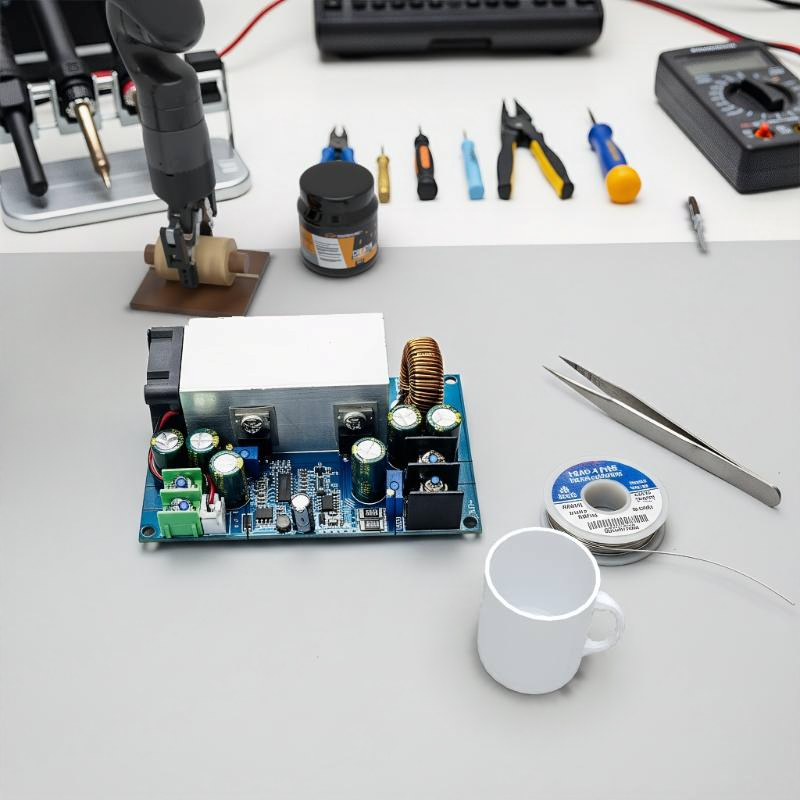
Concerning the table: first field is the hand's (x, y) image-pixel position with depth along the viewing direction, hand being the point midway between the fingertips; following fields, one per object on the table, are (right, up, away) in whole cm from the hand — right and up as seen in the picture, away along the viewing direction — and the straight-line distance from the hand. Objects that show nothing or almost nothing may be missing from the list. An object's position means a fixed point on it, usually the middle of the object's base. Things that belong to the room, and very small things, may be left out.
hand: (198, 269), depth 127 cm
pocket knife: (+67, +7, +13) cm, 69 cm away
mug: (+39, -39, -37) cm, 67 cm away
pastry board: (0, -1, +2) cm, 3 cm away
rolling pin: (0, -1, +1) cm, 1 cm away
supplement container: (+18, +2, +7) cm, 19 cm away
